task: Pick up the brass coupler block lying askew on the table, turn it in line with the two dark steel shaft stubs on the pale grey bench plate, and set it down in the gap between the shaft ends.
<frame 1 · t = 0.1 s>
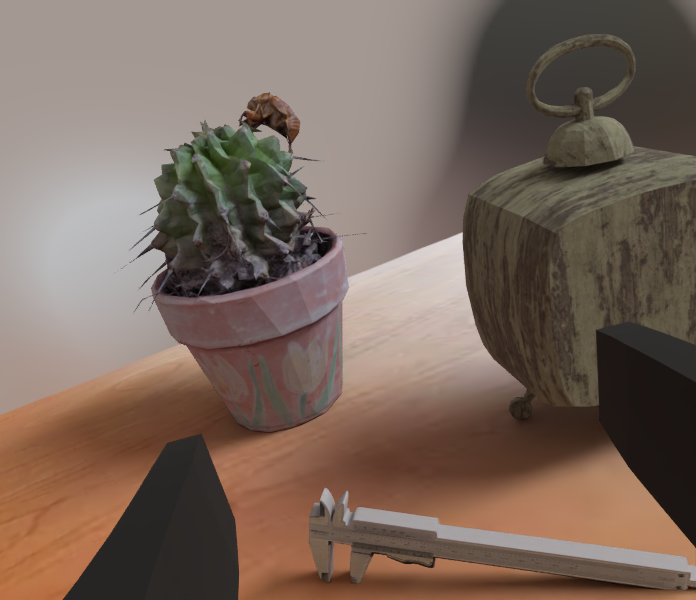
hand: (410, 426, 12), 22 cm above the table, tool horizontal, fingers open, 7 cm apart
potted plant: (282, 406, 56), on the table
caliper: (504, 585, 35), on the table
tabletop clock: (610, 415, 46), on the table
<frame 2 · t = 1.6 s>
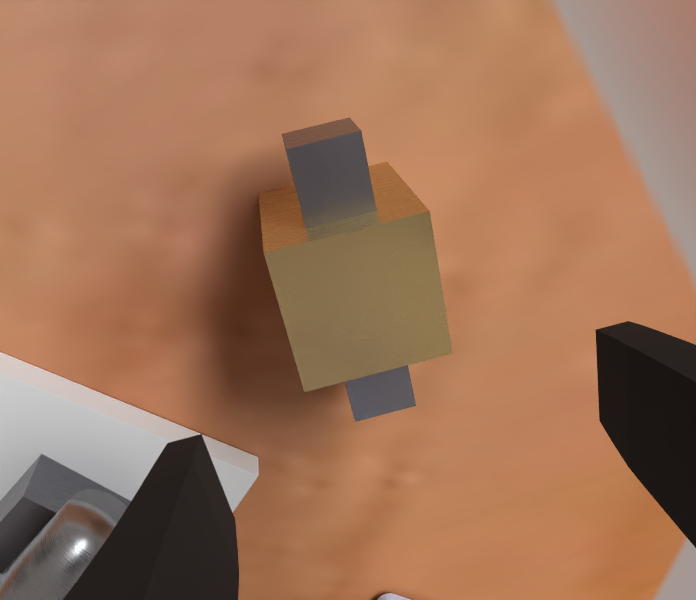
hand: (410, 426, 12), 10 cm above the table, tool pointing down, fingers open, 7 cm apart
shaft a: (69, 510, 22), resting on bench
coupler: (337, 237, 21), on the table
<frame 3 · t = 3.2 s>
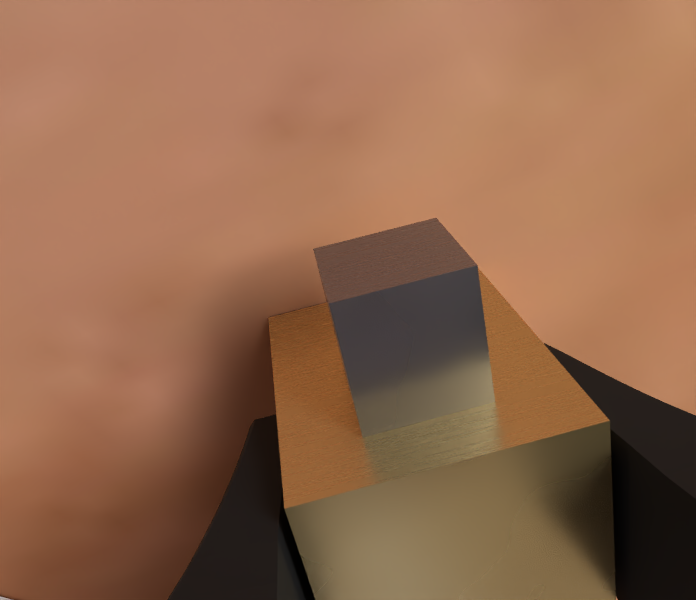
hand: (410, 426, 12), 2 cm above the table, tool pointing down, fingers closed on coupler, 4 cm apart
coupler: (391, 378, 13), on the table, touching gripper
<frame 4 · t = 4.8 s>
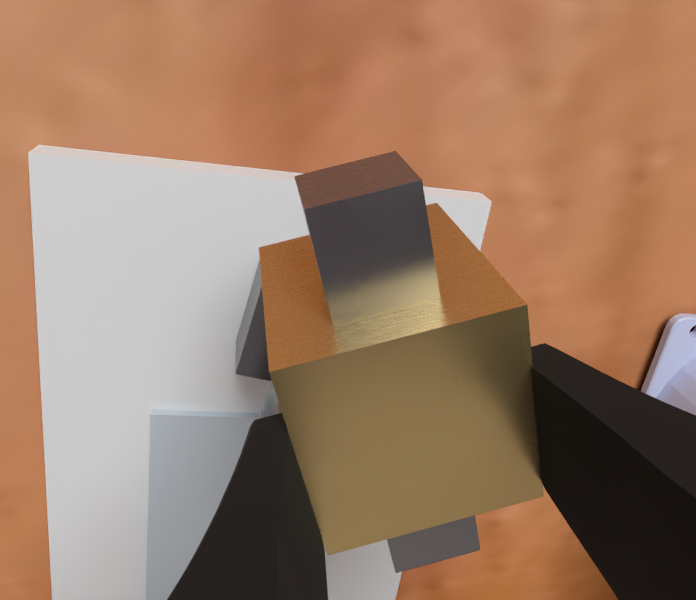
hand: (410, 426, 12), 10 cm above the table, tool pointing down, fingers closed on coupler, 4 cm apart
shaft a: (311, 312, 20), resting on bench
bench: (241, 500, 24), on the table
coupler: (365, 303, 15), point 6 cm above the table, touching gripper
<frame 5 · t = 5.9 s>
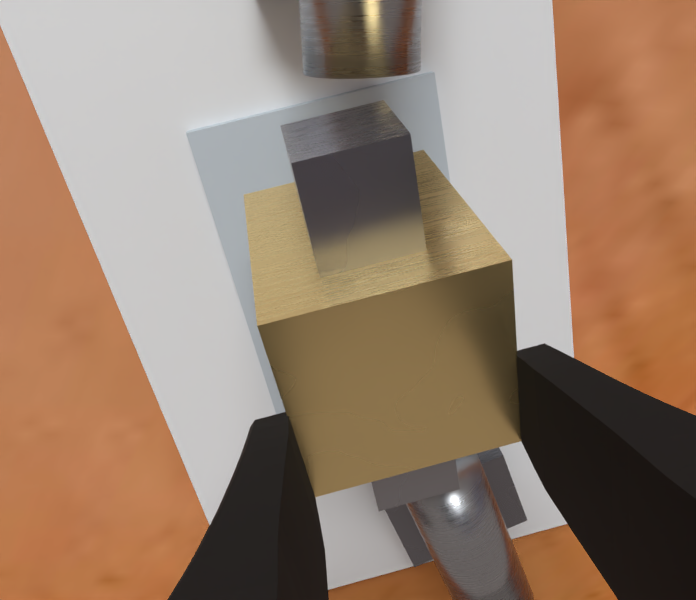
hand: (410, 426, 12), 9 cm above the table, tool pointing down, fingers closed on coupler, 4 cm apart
bench: (342, 250, 19), on the table
shaft b: (439, 471, 22), resting on bench
coupler: (350, 251, 15), point 4 cm above the table, tilted 7°, touching gripper
when the fingers open (4 cm above the table, at t = 7.1 s): coupler stays where it is, resting on bench, shaft a.
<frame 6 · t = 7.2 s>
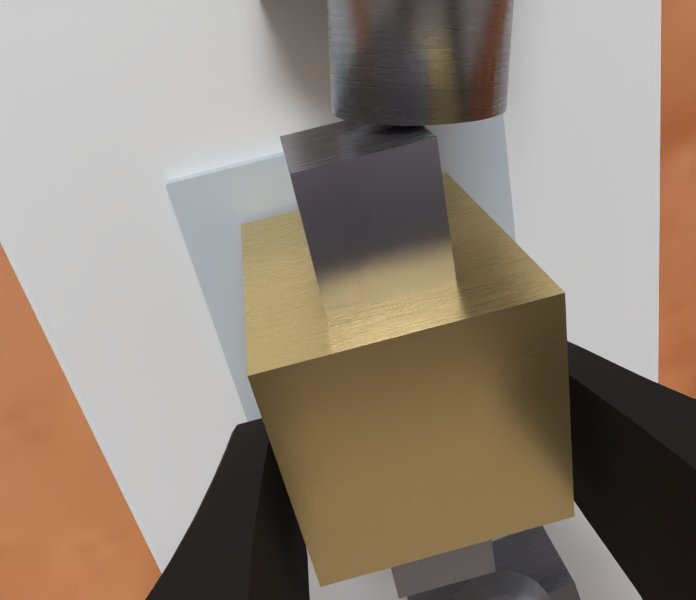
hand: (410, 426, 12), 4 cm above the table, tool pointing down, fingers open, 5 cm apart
bench: (370, 324, 15), on the table
shaft b: (486, 585, 18), resting on bench
coupler: (364, 289, 13), point 1 cm above the table, touching bench, shaft a
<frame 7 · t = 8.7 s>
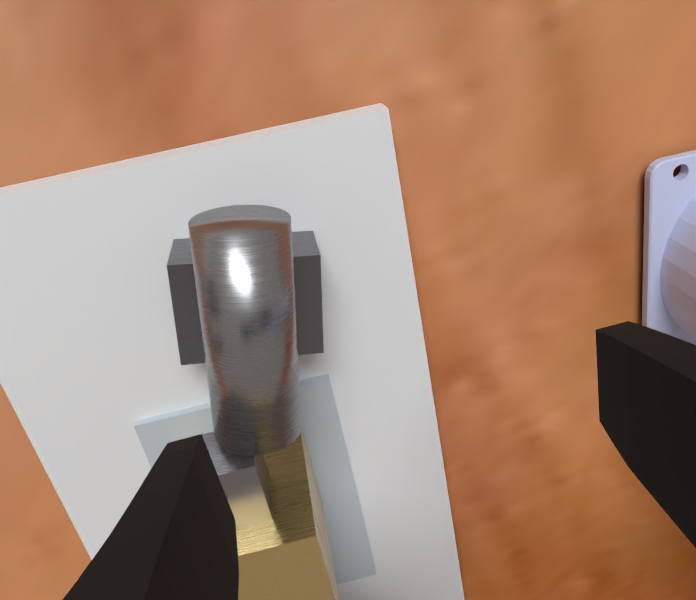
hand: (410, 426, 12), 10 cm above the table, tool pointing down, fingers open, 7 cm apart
shaft a: (248, 282, 20), resting on bench
bench: (265, 482, 24), on the table
coupler: (253, 475, 22), point 1 cm above the table, touching bench, shaft a
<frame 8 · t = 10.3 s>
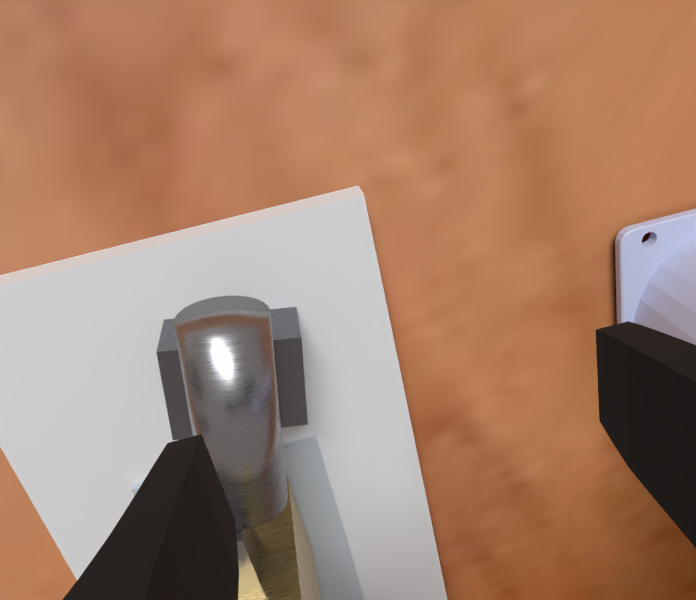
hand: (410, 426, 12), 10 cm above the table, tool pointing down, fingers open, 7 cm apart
shaft a: (236, 355, 21), resting on bench
bench: (259, 533, 25), on the table
coupler: (246, 531, 23), point 1 cm above the table, touching bench, shaft a
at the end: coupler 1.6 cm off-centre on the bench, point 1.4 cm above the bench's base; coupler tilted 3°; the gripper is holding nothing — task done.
